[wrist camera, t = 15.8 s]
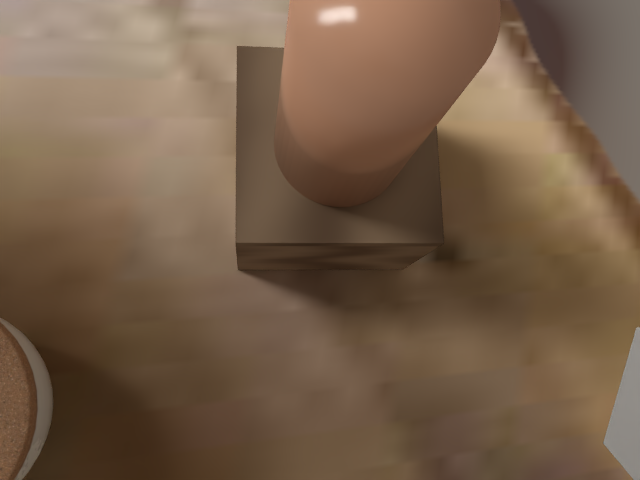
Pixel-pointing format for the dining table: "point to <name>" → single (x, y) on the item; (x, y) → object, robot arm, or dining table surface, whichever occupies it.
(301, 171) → the dome-topped peach cylinder
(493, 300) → the dining table surface
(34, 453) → the lidded jar
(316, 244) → the walnut crate
